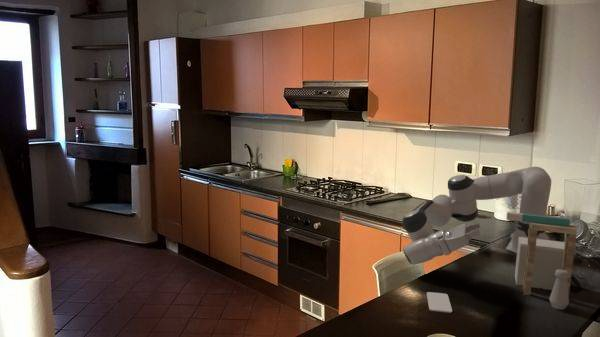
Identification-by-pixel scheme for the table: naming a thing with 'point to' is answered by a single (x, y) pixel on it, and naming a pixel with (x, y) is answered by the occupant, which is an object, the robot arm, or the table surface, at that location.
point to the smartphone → (439, 302)
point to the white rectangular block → (540, 262)
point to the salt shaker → (560, 290)
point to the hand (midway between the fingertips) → (479, 228)
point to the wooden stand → (531, 247)
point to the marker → (538, 219)
